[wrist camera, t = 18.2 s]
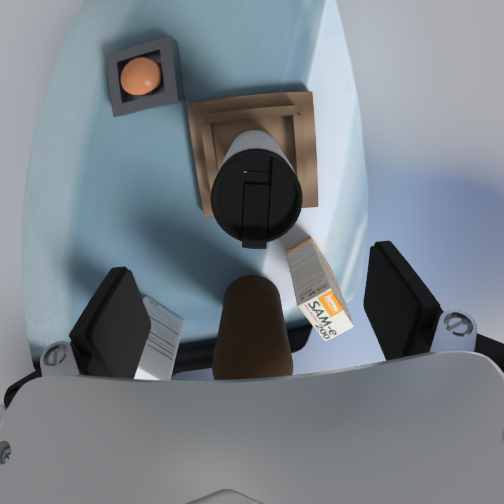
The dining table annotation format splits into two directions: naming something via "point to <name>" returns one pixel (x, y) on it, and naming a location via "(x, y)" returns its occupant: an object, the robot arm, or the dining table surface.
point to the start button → (141, 76)
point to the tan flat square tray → (261, 118)
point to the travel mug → (256, 191)
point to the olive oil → (252, 333)
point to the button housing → (168, 91)
